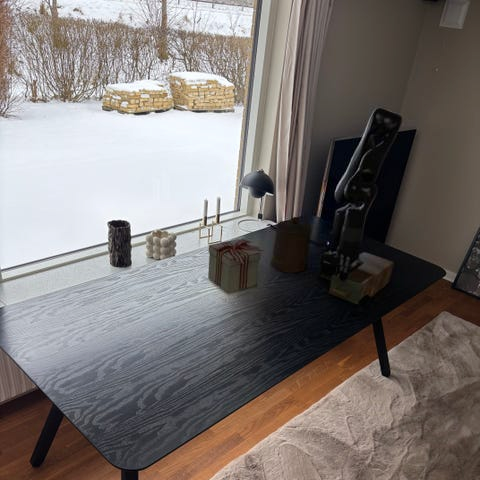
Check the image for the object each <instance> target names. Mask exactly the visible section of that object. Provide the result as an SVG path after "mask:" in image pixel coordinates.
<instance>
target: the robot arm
mask: <svg viewBox="0 0 480 480" xmlns="http://www.w3.org/2000/svg"><path fill="white" fill-rule="evenodd" d="M402 123H403V116H402V115H400V114H399V113H397V112H394V111H391V110H389V109H386V108H384V107H377V108H375V109H374V111H372V113H371V115H370V117H369V119H368V121H367V124H366V127H365V130H364V132H363V134H362V137H361V140H360V142H359V144H358V146H357V147H356V149H355V151H354V153H353V155H352V157H351V159H350V162H349V164H348V166H347V168H346V171H345V172H344V174H343V175H342V176H341V178H340V180H339V182H338V184H337V185H336V189H335V191H334V199H335V201H336V202H337V203H338V204H346V205H345V206H342V207H340V208H338V209H337V210H335V214H334V220H333V224H332V225H333V226H332V231H330V233H329V237H328V239H327V240H323V241H320V242H316V241H314V240H312V239H311V238H310V239H309V243H311V244H314V245H317V246H321V245H322V244H325V247H327V250H326V251H327V253H332V254H331V257H332V259H333V261H334V264H335V266H336V268H337V269H339V273H340V275H339V278H340V280H341V281H345V280H346V279H347V278H348V274H349V273H351V272H353V271H354V270H356V269H357V268H358V267H360V266H361V265H363V264H364V262H363V261H361V260H360V259H359V255H360V251H361V247H362V245H361V244H362V241H363V236H364V230H365V224H366V219H367V216H368V212H369V210H370V208H371V206H372V205H373V202H374V201H375V199H376V197H377V194H378V186H377V185H376V184H375V183H374V182H375V181H376V180H377V178H378V177H379V176H378V175H379V173H380V170H381V169H382V165H383V162H384V160H385V158H386V156H387V154H388V152H390V149H391V147H392V145H393V143H394V141H395V139H396V138H397V136H398V133H399V131H400V129H401V126H402ZM374 136H376V137H377V138H380V139H383V141H382V142H380V143H379V144H377V145H376V146H375V142H374V141H375V140H374ZM360 204H362V205H360ZM272 226H274V225H273V224H271V223H268V224H266V227H271V228H273V229H274V230H277V226H274V227H272ZM355 261H356V263H355V266H354V267H353V268H351V265H352V263H354V262H355Z"/></svg>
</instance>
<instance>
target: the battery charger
mask: <svg viewBox="0 0 480 480" xmlns="http://www.w3.org/2000/svg"><path fill="white" fill-rule="evenodd" d="M331 254H332V253H329V252H325V253H323V254H322V255H321V258H320V263H319V264H320V266H321V268H320V273H319V278H320V279H322V280H323V281H326V282H329V283H331V280H332V275H336V276H337V271H338V268H336V266H335V264H334V261H333V259H332V257H331Z"/></svg>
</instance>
